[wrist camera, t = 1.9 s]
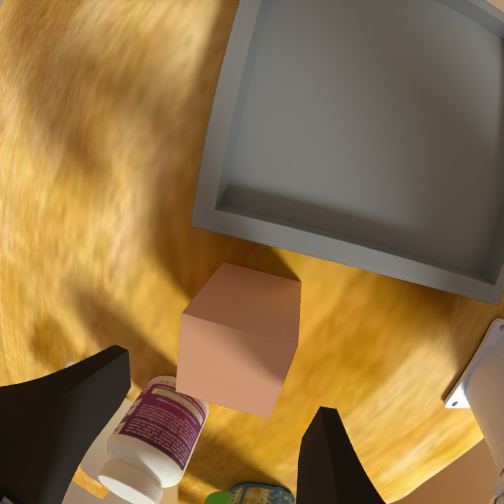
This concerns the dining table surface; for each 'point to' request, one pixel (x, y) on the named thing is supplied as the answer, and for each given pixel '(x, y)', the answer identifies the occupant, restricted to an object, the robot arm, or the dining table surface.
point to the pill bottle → (153, 442)
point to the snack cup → (251, 495)
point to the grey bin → (364, 138)
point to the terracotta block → (239, 339)
